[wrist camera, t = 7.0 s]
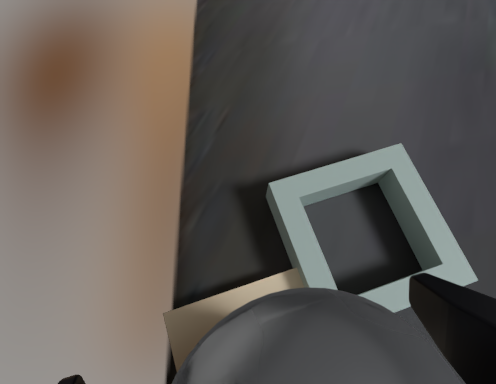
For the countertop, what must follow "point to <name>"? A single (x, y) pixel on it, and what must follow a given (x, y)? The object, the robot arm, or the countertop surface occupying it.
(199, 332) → the beige square plate
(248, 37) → the countertop surface
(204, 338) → the grey round peg
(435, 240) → the socket
